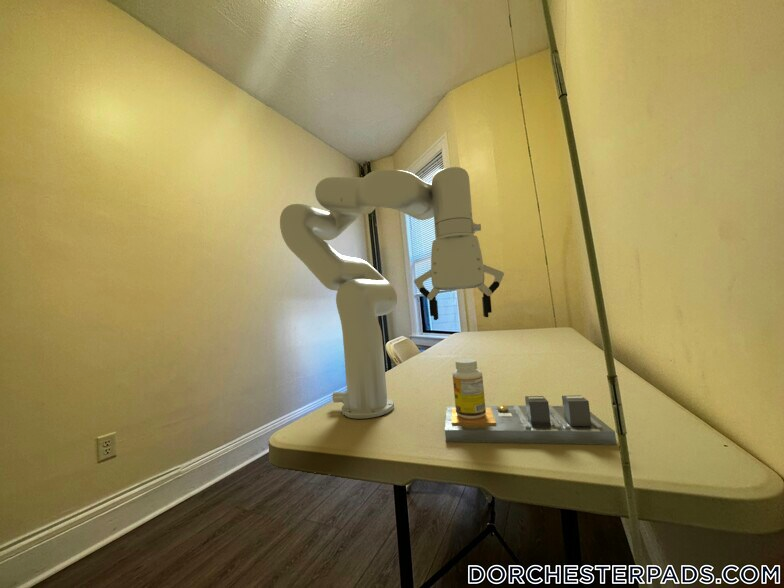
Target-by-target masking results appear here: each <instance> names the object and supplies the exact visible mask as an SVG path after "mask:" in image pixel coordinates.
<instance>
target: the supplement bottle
mask: <svg viewBox="0 0 784 588" xmlns="http://www.w3.org/2000/svg"><path fill="white" fill-rule="evenodd" d="M452 383H453V384H452V385H453V394H454V403H455V405H454V406H456V413H457V414H458V415H459V416H460V417H462V418H466V419H477V418H481V417H483V416H484V415H485V413H486V408H485V406H486V398H485V389H484V379H483V371H481V370H480V369H478V362H477V359H473V358H460V359H456V360H455V370H453V371H452Z"/></svg>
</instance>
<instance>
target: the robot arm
mask: <svg viewBox="0 0 784 588" xmlns="http://www.w3.org/2000/svg"><path fill="white" fill-rule="evenodd" d="M470 183H471V182H470V175H469V173H468V171H467V170H466V169H464V168H463V167H460V166H450V167H445V168H443V169H440V170H438V171H437V172H435V173H434V174H433V176H432V179H431V183H429V182H426V181H424V180H423V179H421V178H420V177H419V176H417V175H416V174H414V173H412V172H409V171H408V170H407V171H406V170H401V169H378V170H373V171H371V172H368V173H367V174H366V175H365V176H363V177H357V176H356V177H353V176H349V177H347V176H342V177H341V176H340V177H339V176H337V177H336V176H330V177H325V178H323V179H321V180H320V181H319V182H317V184H316V186H315V191H314V195H315V198H316V200H317V202H318V204H319V205H320V206H321V207H322V208H324V209H326V210H324V209H320V208H317V207H314V206H311V205H307V204H303V203H291V204H289V205H287V206H286V207H284V208H283V209H282V211H281V214H280V215H279V229H280V233H281V236H282V239H283V241H284V243H285V244H286V246H287V248H288V249H289V250H290V251H291V252H292V253H293V254H294V255H295V256H296V257H297V258H298V259H299V260H300V261H301V262H302V263H303V264H304V265H305V267H307V269H308V270H309V271H310V272H311V273H312V274H313V275H314V277H315V278H316V279H317V280H318V281H319V282H320V283H321V284H322V285H323V286H324V287H325V288H326V289H329V291H330V290H331V291H336V293H335V294H336V295H335V302H336V308H337V312H338V315H339V320H340V325H341V333H342V343H343V344H342V345H343V354H344V355H343V356H344V368H345V371H344V372H345V381H346V382H345V383H346V390H345V391H344V392H341V391H339V392H338V391H337V392H333V393H332V395H331V398H332V401H333V403H342V404H343V405H342V406H341V414H342V415H343V416H344V415H345V416H344V417H346V416H347V418H350V419H360V420H361V419H372V418H376V417H377V418H378V417H380V416H384V415H386V414H388V413H390V412H391V411H393V410H394V408H395V403H394V400H393V399H391V398H389V397H388V391H387V381H386V380H387V379H386V367H385V355H384V354H385V353H384V344H383V342H384V341H383V334H382V329H381V325H380V323H379V321H378V319H377V317H380V316H386V315H388V314H390V313H391V312H393V311H394V310H395V308H396V306H397V303H398V293H397V292H396V289H395V288H394V286H393V285H392V283H390V282H389V280H387V278H385V277H384V276H383V275H382V274H381V273H380V272H379V271H378V270H377V269H376V268H374V267H373V266H372V265H371V264H370V263H369V262H367V261H365V260H363V259H361V258H358V257H353V256H349V255H348V256H347V255H344V254H343V255H342V254H341V253H340V252H337V251H336V250H335V249H334V248H333V247H332V246H331V245H330V244H329V243H328V242H327V241H331V240H334V239H336V238H337V237H339V236H340V235H341V234H342V233H343V232H344V231H345V230H346V229H348V227H349V226H351V225H352V224H353V223H354V222H356V221H357V219H358V218H359V217H360V216H361V215H369V214H371V213H373V211H375V209H376V208H385V209H392V210H395V211H396V210H397V211H398V212H400V213H403V214H405V215H407V216H409V217H412V218H413V219H416V220H419V221H427V220H431V218H433V222H434V235H435V240H433V241H432V244H431V253H430V254H431V257H430V269H429V270H428V271H426V272H425V273H423V274H421V275H419V276H418V277H416V278H415V279H414V280H413V281H414V282H413V283H414V285H415V286H416V287H417V290H418V291H419V293H421V294H422V295H423V296H424V297H425V298H426V299H427V300H428V302H429V316H430V317H433V320H434V321H437V320H439V309H438V306H439V305H438V300H437V296H438V294H439V293H440V291H451V290H453V291H454V290H466V289H467V290H468V289H476V288H477V289H478V290H479V291H480V292H481V293H482V297H481V300H482V301H481V302H482V303H481V304H482V315H483V317H485V318H489V314H490V313H491V314H492V300H491V299H492V298H491V296H492V295H493V294H494V293H495V291H496V290H497V289H498V288H499V287H500V285H501V283H502V280H503V279H504V276H505V272H503V271H502V270H500V269H496V268H494V267H491V266H488V265H486V264H484V261H483V254H482V249H481V244H480V242H479V238H478V236H477V235H474V234H476V233H477V232H479V231H480V232H481V231H482V225H481V224H482V223H478V224H477V223H475V222H474V221H473V211H472V209H473V208H472V198H471V197H472V196H471V184H470ZM327 210H328V211H327ZM485 274H488V275H490V276H493V277H494V278H493V282H492V283H491V284H490V285H489V286H487V285H486V284H485ZM429 279H431V284H432V287H433V288H432V289H431V290H430V291H429V290H428V289H427V288H426V286H425V285H424V282H425V281H428V280H429Z"/></svg>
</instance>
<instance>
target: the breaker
mask: <svg viewBox="0 0 784 588" xmlns="http://www.w3.org/2000/svg"><path fill="white" fill-rule="evenodd" d="M561 400H562V405H563V411H564V419H565V420H566V421H567V422H568V423H569V424H570V425H571V426H591V417H590V412H591V411H590V402H589V400H588V399H586V397H584V396H583V395H581V394H578V395H574V394H573V395H561Z"/></svg>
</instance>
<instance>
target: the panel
mask: <svg viewBox="0 0 784 588" xmlns="http://www.w3.org/2000/svg"><path fill="white" fill-rule="evenodd" d="M524 398H525V399H524V400H525V401H524V402H525V405H503V404H502V405H500V404H499V405H485V408H486V413H485V415H484V416H483V417H481V418H477V419H466V418H462V417H460V416H459V415H458V414H457V413H456V406H455V405H451V406H450V405H447V406H446V411H445V421H444V423H445V425H444V435H445V443H487V444H488V443H495V444H501V443H502V444H549V445H550V444H556V445H559V444H561V445H611V446H612V445H614V446H615V445H617V438H616V431H615V430H614V429H612V428H611V427H610V426H609V425H607V424H606V423H605V422H604V421H602V420H601V419H600V418H599V417H597V416H596V415H595V414H593V413H592V412H591V411H590V417H591V426H571V425H570V424H569V423H568V422H567V421H566V420H565V419H564V411H563V404H557V405H556V404H553V405H549V401H548V400H547V399H546V397H545V396H543V395H540V396H539V395H533V396H532V395H529V396H528V395H527V396H526V395H525V396H524Z"/></svg>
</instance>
